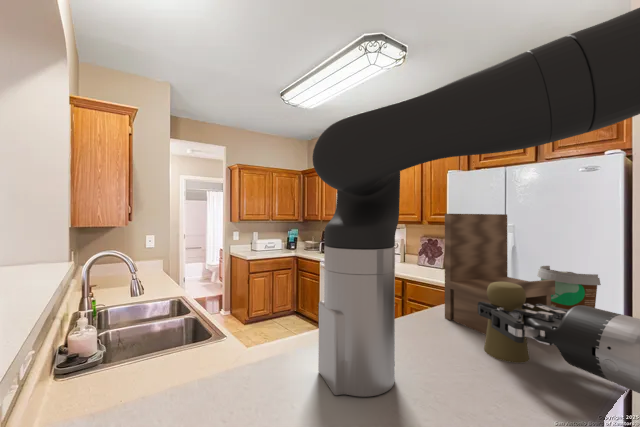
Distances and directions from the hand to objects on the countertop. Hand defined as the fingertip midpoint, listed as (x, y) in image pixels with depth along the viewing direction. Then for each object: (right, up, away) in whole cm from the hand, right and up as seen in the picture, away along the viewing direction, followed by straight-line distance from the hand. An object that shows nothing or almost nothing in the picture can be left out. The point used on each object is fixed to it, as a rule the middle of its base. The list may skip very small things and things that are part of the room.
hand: (490, 306), depth 49 cm
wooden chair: (+8, -7, +10) cm, 15 cm away
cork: (+1, -7, -3) cm, 7 cm away
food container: (+24, -7, +16) cm, 30 cm away
